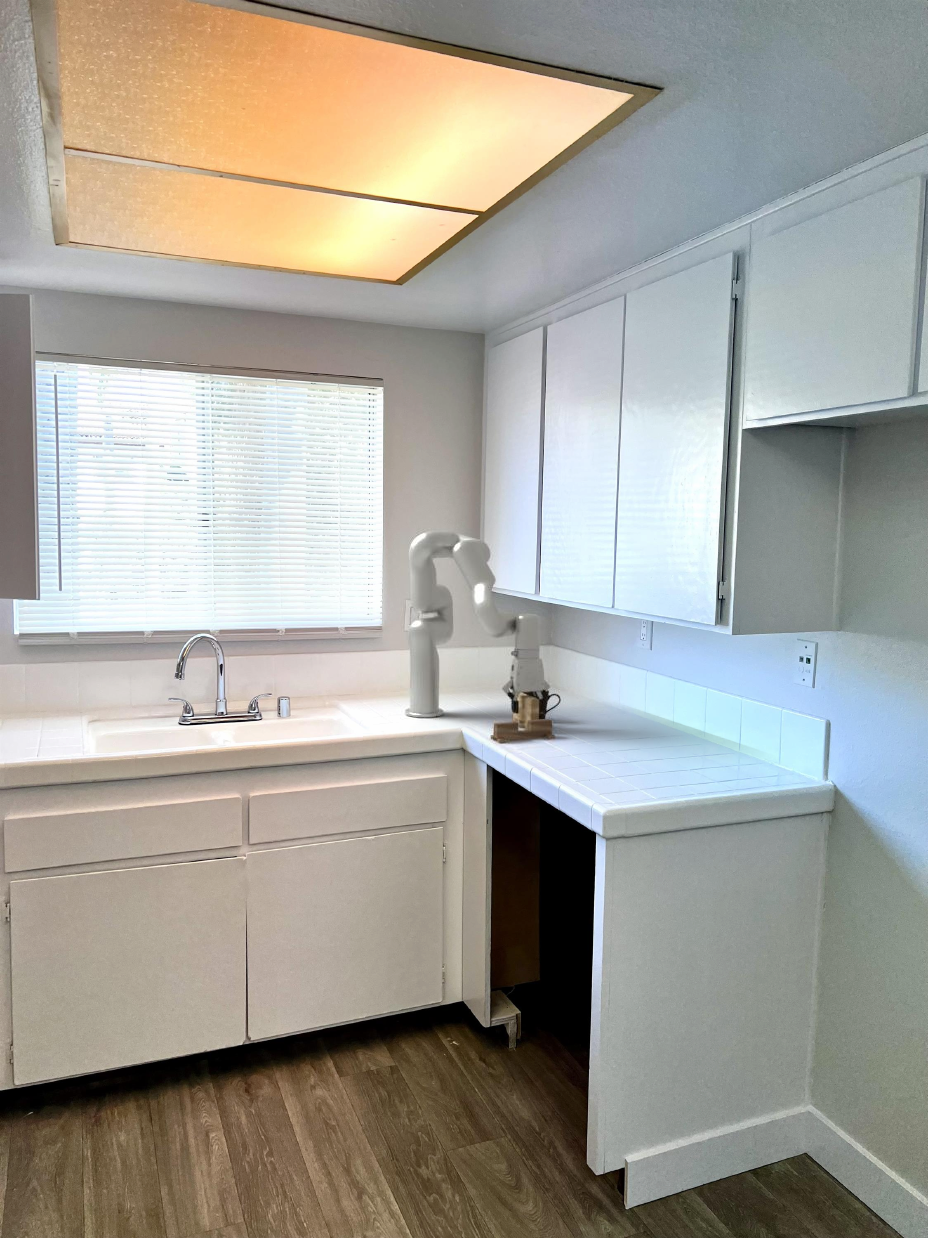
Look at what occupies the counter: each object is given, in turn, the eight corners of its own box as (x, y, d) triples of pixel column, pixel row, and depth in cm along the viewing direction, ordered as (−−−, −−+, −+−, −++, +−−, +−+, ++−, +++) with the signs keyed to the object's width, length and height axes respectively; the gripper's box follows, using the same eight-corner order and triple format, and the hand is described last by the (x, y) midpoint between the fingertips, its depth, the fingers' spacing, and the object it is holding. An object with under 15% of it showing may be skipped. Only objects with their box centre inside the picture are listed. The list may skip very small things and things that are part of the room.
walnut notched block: (490, 738, 265) (490, 721, 264) (545, 734, 272) (545, 717, 271) (499, 743, 259) (499, 726, 259) (554, 738, 266) (555, 721, 266)
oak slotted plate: (513, 724, 284) (513, 693, 283) (520, 724, 285) (521, 692, 284) (530, 732, 273) (531, 700, 272) (538, 732, 274) (539, 699, 273)
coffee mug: (517, 721, 289) (517, 690, 288) (528, 716, 296) (528, 686, 295) (551, 725, 283) (551, 694, 282) (561, 720, 291) (562, 689, 290)
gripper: (506, 657, 270) (505, 716, 272) (558, 654, 277) (556, 712, 279) (496, 653, 277) (495, 711, 279) (546, 651, 284) (545, 708, 285)
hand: (525, 711), depth 279 cm, fingers open, 6 cm apart
